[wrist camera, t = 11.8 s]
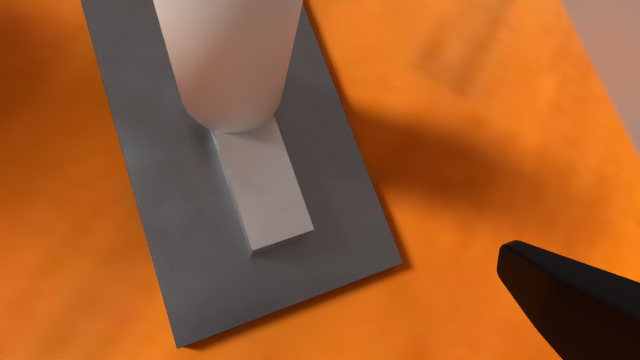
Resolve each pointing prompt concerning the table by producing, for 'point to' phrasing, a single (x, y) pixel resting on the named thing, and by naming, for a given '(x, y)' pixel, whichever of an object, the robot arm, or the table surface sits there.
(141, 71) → the ridge plate
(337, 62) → the table surface
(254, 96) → the off-white dowel
